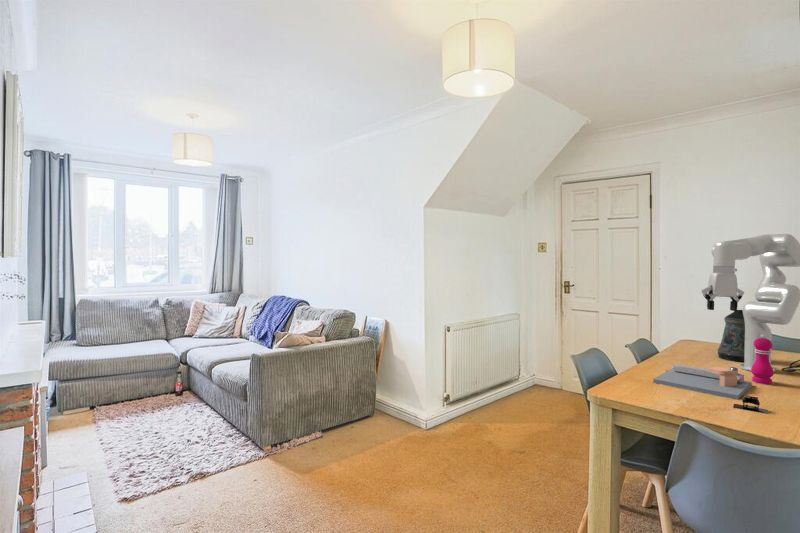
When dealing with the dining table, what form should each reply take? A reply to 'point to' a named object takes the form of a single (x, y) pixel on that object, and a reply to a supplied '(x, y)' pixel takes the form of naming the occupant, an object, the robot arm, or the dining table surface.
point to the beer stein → (733, 338)
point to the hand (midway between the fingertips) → (721, 310)
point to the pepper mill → (762, 361)
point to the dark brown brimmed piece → (751, 408)
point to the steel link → (704, 371)
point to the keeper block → (725, 376)
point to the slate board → (702, 384)
